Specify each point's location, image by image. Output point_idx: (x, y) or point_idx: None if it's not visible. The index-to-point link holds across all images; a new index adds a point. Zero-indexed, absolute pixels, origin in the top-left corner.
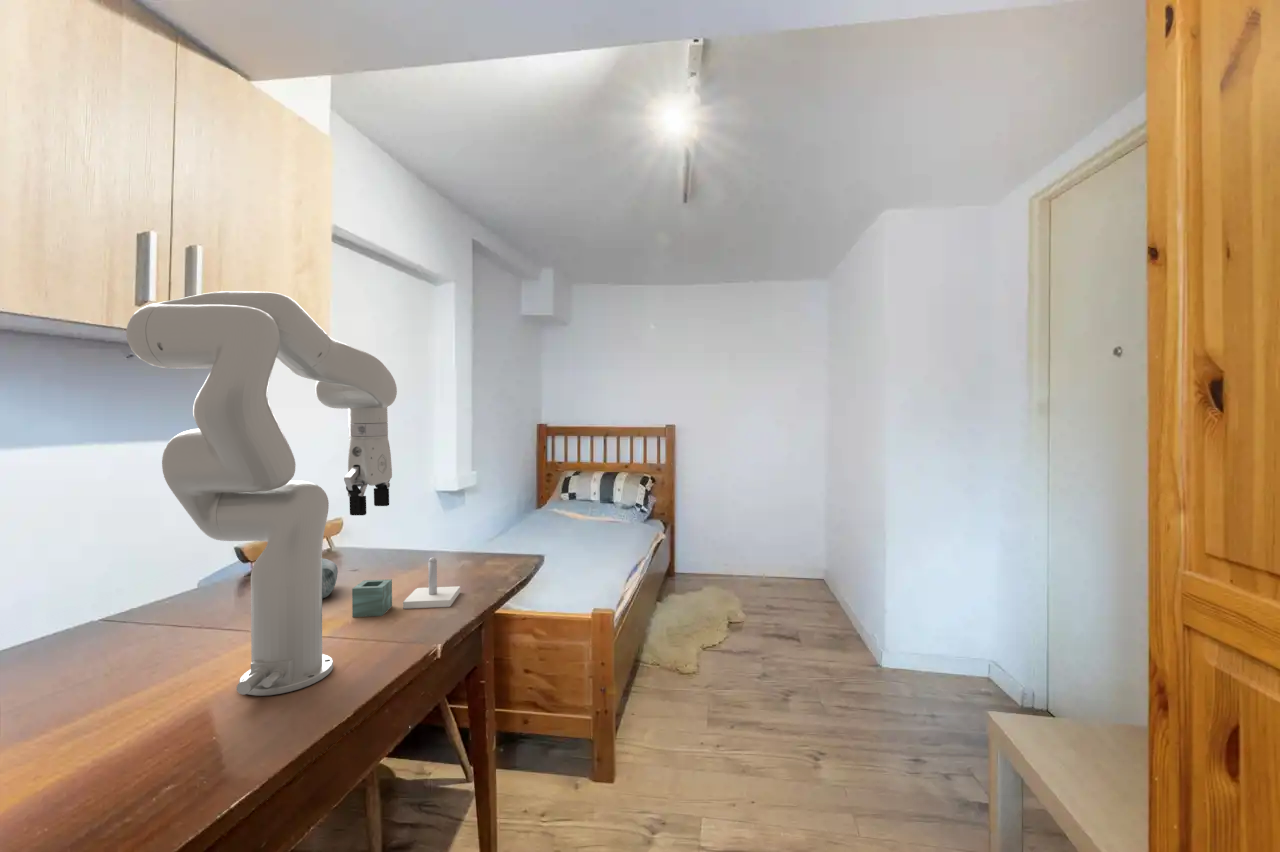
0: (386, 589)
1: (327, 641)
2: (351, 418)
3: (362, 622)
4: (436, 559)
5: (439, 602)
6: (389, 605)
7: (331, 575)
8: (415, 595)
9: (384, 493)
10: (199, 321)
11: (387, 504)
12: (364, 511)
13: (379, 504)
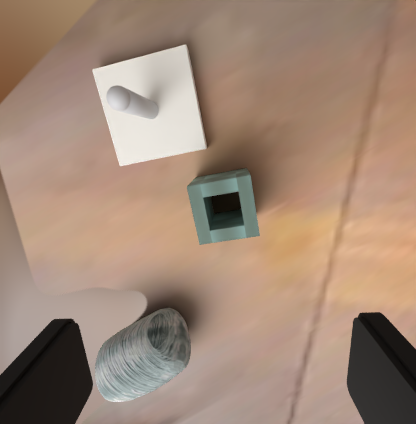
0: (223, 178)
1: (366, 193)
2: None
3: (280, 185)
4: (112, 86)
5: (191, 71)
6: (208, 175)
7: (155, 329)
8: (165, 143)
9: (15, 422)
10: None
11: (68, 324)
12: (395, 329)
13: (82, 368)
